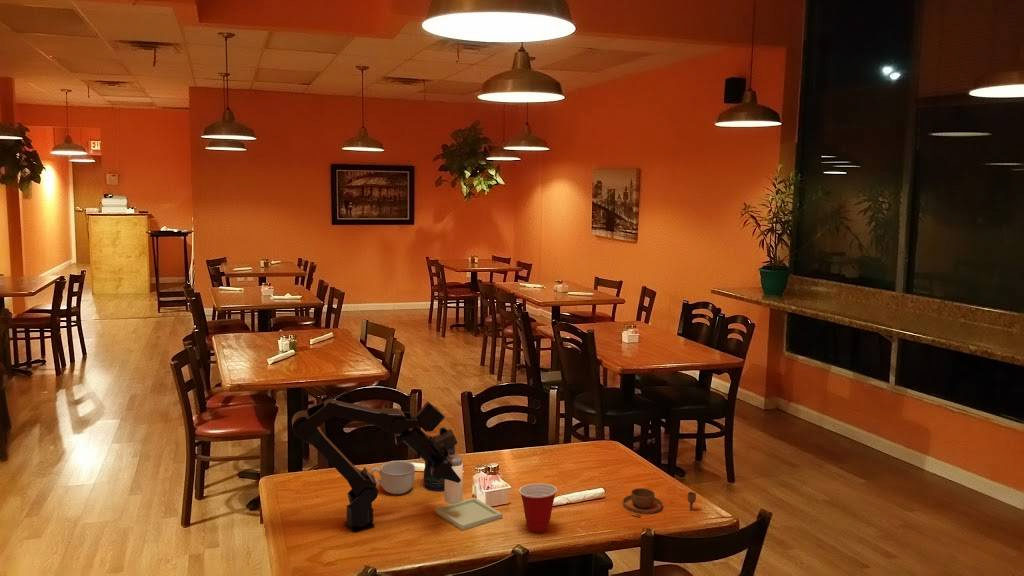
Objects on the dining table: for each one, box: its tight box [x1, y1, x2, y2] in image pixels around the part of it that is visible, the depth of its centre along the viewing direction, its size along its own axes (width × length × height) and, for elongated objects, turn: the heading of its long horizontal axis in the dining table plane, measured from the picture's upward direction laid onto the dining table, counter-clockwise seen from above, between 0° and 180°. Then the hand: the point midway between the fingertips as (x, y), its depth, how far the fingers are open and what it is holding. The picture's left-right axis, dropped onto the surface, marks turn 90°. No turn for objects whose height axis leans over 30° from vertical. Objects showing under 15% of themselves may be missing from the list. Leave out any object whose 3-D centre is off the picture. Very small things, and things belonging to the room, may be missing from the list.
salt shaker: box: [443, 454, 464, 504], centre depth 224 cm, size 5×5×13 cm
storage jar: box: [423, 435, 456, 493], centre depth 247 cm, size 10×10×15 cm
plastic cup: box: [518, 482, 558, 534], centre depth 218 cm, size 11×11×12 cm
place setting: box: [622, 487, 697, 518], centre depth 234 cm, size 18×20×6 cm
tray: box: [435, 497, 503, 532], centre depth 226 cm, size 14×14×2 cm
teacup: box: [369, 460, 416, 495], centre depth 243 cm, size 14×11×8 cm
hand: (458, 477), depth 224 cm, fingers closed on salt shaker, 5 cm apart
